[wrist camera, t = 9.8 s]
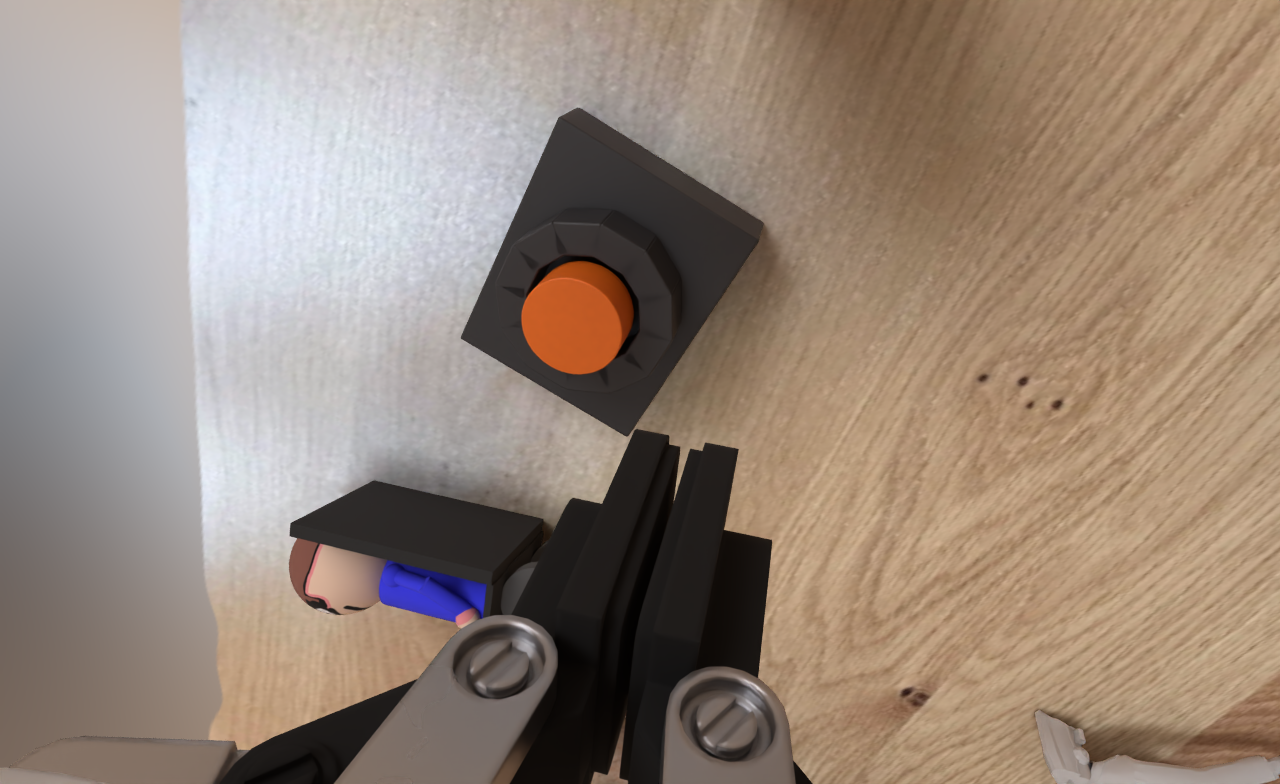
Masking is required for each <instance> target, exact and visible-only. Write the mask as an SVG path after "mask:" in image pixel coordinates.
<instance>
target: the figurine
mask: <svg viewBox="0 0 1280 784" xmlns="http://www.w3.org/2000/svg"><path fill="white" fill-rule="evenodd" d="M1035 717H1036V721H1037V726H1038V730H1039V734H1040V739H1041V743H1042V748H1043V755H1044V759H1045V761H1046V763H1047V766H1048V768H1049V770H1050V773H1051V775H1052V776H1053V777H1054V779H1055V781H1056V782H1057V783H1058V784H1263V783H1267V782H1270V781H1274V780H1276V779H1277V778H1279V776H1278V775H1279V774H1280V755H1279V756H1277V757H1273V758H1270V759H1267V760H1266V759H1265V757H1264V756H1262V757H1261V756H1260V755H1256V756H1251V757H1246V758H1242V759H1239V760H1236V761H1234V762H1228V763H1222V764H1216V765H1211V766H1208V767H1205V768H1192V767H1185V766H1179V765H1172V764H1165V763H1157V762H1144V761H1140V760H1135V759H1133V758H1131V757H1129V756H1127V755H1122V756H1121V755H1119V754H1118V755H1116V756H1113V757H1109V758H1107V759H1106V760H1104V761H1100V762H1094V761H1090V762H1089V754H1088V752H1087V751H1086V750H1085V749H1083V748H1082V746H1081V745H1082V744H1084V743H1086V740H1085V736H1084V732H1083V730H1082V729H1079V728H1078V729H1076V730H1075V728H1073V727H1072V726H1068V725H1067V724H1065V723H1064V722H1062V721H1060V720H1058V719H1056V718H1052V717H1050V716H1049V715H1047V714H1045V713H1044V712H1042V711H1041V710H1038V711H1036V712H1035Z"/></svg>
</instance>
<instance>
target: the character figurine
mask: <svg viewBox="0 0 1280 784" xmlns="http://www.w3.org/2000/svg"><path fill="white" fill-rule="evenodd" d="M542 525H543V519H540V518H536V517H532V516H527V515H523V514H518V513H514V512H510V511H505V510H501V509H496V508H492V507H488V506H483V505H479V504H475V503H470V502H466V501H461V500H457V499H453V498H448V497H444V496H439V495H435V494H431V493H426V492H422V491H418V490H413V489H409V488H404V487H400V486H396V485H391V484H387V483H382V482H378V481H372V482H370V483H368V484H366V485H364V486H362V487H360V488H358V489H356V490H355V491H353V492H351V493H349V494H347V495H345V496H343V497H341V498H339V499H337V500H335V501H333V502H331V503H329V504H327V505H325V506H323V507H321V508H319V509H317V510H315V511H313V512H312V513H310V514H308V515H306V516H304V517H302V518H300V519H298V520H296V521H294V522H292V523H291V525H290V536H291V537H295V538H297V540H296V542H295V544H294V546H293V548H292V551H291V555H290V561H289V572H290V578H291V582H292V584H293V587H294V589H295V591H296V592H297V594H298V595H299V596H300V598H301V599H302V600H303V601H304V602H305V603H307V604H308V605H309V606H311V607H313V608H314V609H316V610H318V611H321V612H324V613H328V614H333V615H346V614H352V613H357V612H360V611H363V610H365V609H367V608H369V607H371V606H373V605H374V604H376V603H377V602H379V601H380V600H381V602H382V603H383V604H385V605H389V606H393V607H397V608H401V609H405V610H409V611H413V612H417V613H421V614H425V615H428V616H432V617H436V618H440V619H444V620H448V621H452V622H456V624H457V626H458V627H459V628H460V629H461V628H463V627H465V626H467V625H468V624H470V623H472V622H474V621H476V620H478V619H482V618H486V617H490V616H494V615H511V614H512V612H513V610H514V608H515V606H516V604H517V602H518V600H519V598H520V596H521V594H522V592H523V590H524V588H525V586H526V584H527V582H528V580H529V578H530V576H531V574H532V573H533V571H534V569H535V567H536V565H537V563H538V561H539V559H540V557H541V555H542V553H543V551H544V549H545V547H546V545H547V543H548V541H549V540H547V541H546V542H545V543H544V544H543V545H542V537H543V531H542ZM541 545H542V546H541Z"/></svg>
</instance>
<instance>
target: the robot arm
mask: <svg viewBox="0 0 1280 784" xmlns="http://www.w3.org/2000/svg"><path fill="white" fill-rule="evenodd" d="M737 455H738V449H736V448H731V447H726V446H721V445H715V444H710V443H705V445H704V448H703V451H699V450H694V449H690V451H689V454H688V458H687V461H686V464H685V467H684V471H683V474H682V477H681V481H680V484H679V487H678V490H677V494H676V497H675V500H674V494H675V487H676V479H677V472H678V464H679V457H680V447H679V446H674V445H669V435H664V434H659V433H654V432H649V431H643V430H638V429H636V430H635V431H634V433H633V435H632V438H631V440H630V442H629V444H628V447H627V449H626V451H625V453H624V456H623V458H622V460H621V462H620V465H619V467H618V469H617V472H616V474H615V476H614V478H613V481H612V483H611V485H610V487H609V490H608V492H607V494H606V497H605V499H604V501H603V503H602V504H600V503H595V502H590V501H585V500H581V499H576V498H572V499H571V500H570V501H569V503H568V504H567V506H566V508H565V510H564V511H563V513H562V515H561V517H560V519H559V521H558V523H557V525H556V527H555V529H554V531H553V533H552V535H551V537H550V539H549V541H548V543H547V545H546V547H545V549H544V551H543V553H542V555H541V557H540V559H539V561H538V563H537V565H536V567H535V569H534V571H533V573H532V574H531V576H530V578H529V580H528V582H527V584H526V586H525V588H524V590H523V592H522V594H521V596H520V598H519V600H518V602H517V604H516V606H515V608H514V610H513V612H512V614H511V615H494V616H490V617H486V618H482V619H478V620H476V621H474V622H472V623H470V624H468V625H467V626H465V627H463V628H461V629H460V630H459V631H458V632H457V633H456V634H455V635H454V636H453V637H452V638H451V639H450V640H449V641H448V642H447V643H446V645H445V646H444V647H443V648H442V650H441V651H440V652H439V653H438V655H437V656H436V657H435V658H434V660H433V661H432V662H431V663H430V664H429V666H428V667H427V668H426V669H425V671H424V672H423V673H422V674H421V676H420V677H419V678H418V679H416V680H414V681H411V682H409V683H407V684H404V685H402V686H399V687H397V688H394V689H392V690H389V691H387V692H384V693H382V694H379V695H377V696H374V697H372V698H369V699H367V700H364V701H362V702H359V703H357V704H354V705H352V706H349V707H347V708H345V709H342V710H340V711H337V712H335V713H332V714H330V715H327V716H325V717H322V718H320V719H317V720H315V721H312V722H310V723H307V724H305V725H302V726H300V727H297V728H295V729H292V730H290V731H287V732H285V733H283V734H280V735H278V736H275V737H273V738H271V739H269V740H267V741H265V742H263V743H261V744H260V745H258V746H256V747H254V748H252V749H251V750H237V747H236V743H235V741H214V740H185V739H184V740H183V739H154V738H153V739H152V738H124V737H93V736H81V737H73V738H65V739H60V740H57V741H54V742H52V743H49V744H47V745H44V746H41V747H39V748H37V749H35V750H33V751H32V752H30V753H28V754H27V755H25V756H24V757H22V758H21V759H19V760H18V761H16V762H15V763H13V764H12V765H11V766H10V767H9V768H0V784H591V782H592V779H593V775H594V772H597V773H601V774H605V775H608V773H609V770H610V767H611V764H612V760H613V757H614V753H615V750H616V746H617V743H618V739H619V735H620V732H621V728H622V725H623V721H624V718H625V714H626V721H625V730H624V739H623V748H622V756H621V765H620V774H619V778H620V779H623V780H627V781H628V784H812V782H811V781H810V780H809V779H808V778H807V776H806V775H805V774H804V773H803V772H802V770H801V769H800V768H799V767H798V765H797V764H796V763H795V762H794V761H793V756H792V747H791V738H790V729H789V723H788V719H787V716H786V712H785V709H784V706H783V705H782V703H781V702H780V700H779V699H778V697H777V696H776V694H775V693H774V692H773V691H772V690H771V689H770V688H769V687H768V686H767V685H766V684H765V683H763V682H762V681H761V680H760V679H758V672H759V663H760V653H761V644H762V634H763V625H764V615H765V606H766V597H767V587H768V578H769V568H770V559H771V549H772V540H769V539H764V538H760V537H755V536H750V535H746V534H741V533H736V532H731V531H727V530H724V527H725V522H726V516H727V511H728V505H729V500H730V494H731V489H732V483H733V478H734V472H735V467H736V461H737ZM673 502H674V504H673ZM626 711H627V712H626Z"/></svg>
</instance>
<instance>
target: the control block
mask: <svg viewBox="0 0 1280 784" xmlns="http://www.w3.org/2000/svg"><path fill="white" fill-rule="evenodd" d="M763 224H764V223H763V222H762V221H760V220H758V219H757V218H755V217H754V216H752V215H750V214H749V213H747V212H746V211H744V210H742V209H741V208H739V207H738V206H736V205H734V204H733V203H731V202H730V201H728V200H726V199H725V198H723V197H722V196H720V195H718V194H717V193H715V192H713V191H712V190H710V189H709V188H707V187H705V186H704V185H702V184H701V183H699V182H697V181H696V180H694V179H693V178H691V177H689V176H688V175H686V174H685V173H683V172H681V171H680V170H678V169H677V168H675V167H673V166H672V165H670V164H669V163H667V162H665V161H664V160H662V159H661V158H659V157H657V156H656V155H654V154H652V153H651V152H649V151H648V150H646V149H644V148H643V147H641V146H640V145H638V144H636V143H635V142H633V141H632V140H630V139H628V138H627V137H625V136H624V135H622V134H620V133H619V132H617V131H616V130H614V129H612V128H611V127H609V126H608V125H606V124H604V123H603V122H601V121H599V120H598V119H596V118H595V117H593V116H591V115H590V114H588V113H587V112H585V111H583V110H582V109H580V108H576V109H574V110H572V111H570V112H568V113H566V114H564V115H563V116H561V117H559V118H558V120H557V122H556V125H555V127H554V129H553V131H552V134H551V136H550V138H549V140H548V143H547V145H546V147H545V149H544V152H543V154H542V156H541V158H540V161H539V163H538V165H537V167H536V170H535V172H534V174H533V176H532V179H531V181H530V183H529V185H528V188H527V190H526V192H525V194H524V196H523V199H522V201H521V203H520V205H519V208H518V210H517V212H516V214H515V217H514V219H513V221H512V223H511V226H510V228H509V230H508V232H507V235H506V237H505V239H504V241H503V244H502V246H501V248H500V250H499V253H498V255H497V257H496V259H495V262H494V264H493V266H492V268H491V271H490V273H489V275H488V277H487V279H486V282H485V284H484V286H483V288H482V291H481V293H480V295H479V297H478V300H477V302H476V304H475V306H474V309H473V311H472V313H471V315H470V318H469V320H468V322H467V324H466V327H465V329H464V331H463V333H462V336H461V339H463V340H464V341H466V342H468V343H469V344H471V345H473V346H475V347H476V348H478V349H480V350H481V351H483V352H485V353H486V354H488V355H490V356H491V357H493V358H495V359H496V360H498V361H500V362H502V363H503V364H505V365H507V366H508V367H510V368H512V369H513V370H515V371H517V372H518V373H520V374H522V375H523V376H525V377H527V378H528V379H530V380H532V381H534V382H535V383H537V384H539V385H540V386H542V387H544V388H545V389H547V390H549V391H550V392H552V393H554V394H555V395H557V396H559V397H561V398H562V399H564V400H566V401H567V402H569V403H571V404H572V405H574V406H576V407H577V408H579V409H581V410H582V411H584V412H586V413H587V414H589V415H591V416H593V417H594V418H596V419H598V420H599V421H601V422H603V423H604V424H606V425H608V426H609V427H611V428H613V429H614V430H616V431H618V432H620V433H621V434H623V435H625V436H629V434H630V433H631V431H632V430H633V428H634V427H635V425H636V424H637V422H638V421H639V419H640V418H641V416H642V415H643V414H644V412H645V411H646V409H647V408H648V406H649V405H650V403H651V402H652V400H653V399H654V397H655V396H656V394H657V393H658V391H659V390H660V388H661V387H662V385H663V384H664V382H665V381H666V379H667V378H668V376H669V375H670V373H671V372H672V370H673V369H674V367H675V366H676V364H677V363H678V361H679V360H680V358H681V357H682V355H683V354H684V352H685V351H686V349H687V348H688V346H689V345H690V343H691V342H692V340H693V339H694V337H695V336H696V334H697V333H698V331H699V330H700V328H701V327H702V325H703V324H704V322H705V321H706V320H707V318H708V317H709V315H710V314H711V312H712V311H713V309H714V308H715V306H716V305H717V303H718V302H719V300H720V299H721V297H722V296H723V294H724V293H725V291H726V290H727V288H728V287H729V285H730V284H731V282H732V281H733V279H734V278H735V276H736V275H737V273H738V272H739V270H740V269H741V267H742V266H743V264H744V263H745V261H746V260H747V258H748V257H749V255H750V254H751V252H752V251H753V249H754V248H755V246H756V245H757V243H758V242H759V238H760V235H761V231H762V228H763ZM572 261H587V262H592V263H596V264H598V265H601V266H603V267H605V268H607V269H608V270H610V271H611V272H613V273H614V274H615V275H616V276H617V277H618V278H619V279H620V280H621V281H622V282H623V284H624V285H625V287H626V288H627V290H628V292H629V294H630V296H631V299H632V303H633V308H634V319H633V325H632V328H631V330H630V332H629V334H628V336H627V338H626V340H625V341H624V343H623V345H622V346H621V348H620V350H619V352H618V353H617V355H616V356H615V358H614V359H613V360H612V361H611V362H610V363H609V364H608V365H607V366H605V367H604V368H602V369H600V370H598V371H596V372H593V373H588V374H570V373H565V372H562V371H559V370H557V369H555V368H553V367H551V366H549V365H548V364H546V363H545V362H543V361H542V360H541V359H540V358H539V357H538V356H537V355H536V354H535V353H534V352H533V350H532V349H531V347H530V346H529V344H528V342H527V340H526V338H525V336H524V332H523V328H522V318H521V317H522V309H523V305H524V303H525V300H526V298H527V297H528V295H529V294H530V293H531V291H532V290H533V289H534V288H535V287H536V286H537V285H538V284H539V283H540V282H541V281H542V280H543V279H544V278H545V277H546V276H547V275H548V274H549V273H550V272H551V271H552V270H553V269H554V268H556V267H558V266H560V265H562V264H564V263H568V262H572Z"/></svg>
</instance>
